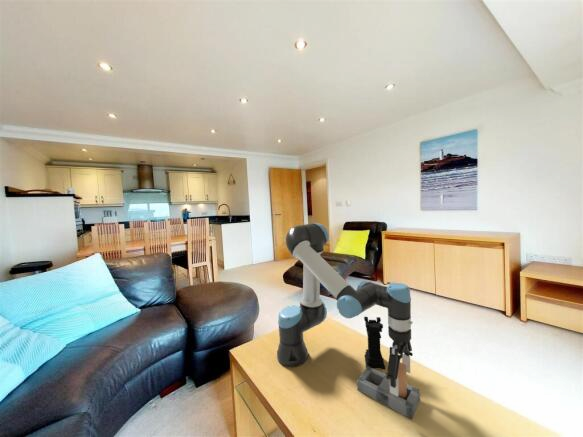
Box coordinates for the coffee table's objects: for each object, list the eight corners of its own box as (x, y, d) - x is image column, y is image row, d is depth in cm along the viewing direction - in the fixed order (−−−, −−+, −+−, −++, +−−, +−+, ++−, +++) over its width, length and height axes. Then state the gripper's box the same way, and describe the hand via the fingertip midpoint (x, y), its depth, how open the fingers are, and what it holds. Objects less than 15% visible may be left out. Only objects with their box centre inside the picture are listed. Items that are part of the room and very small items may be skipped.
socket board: (357, 389, 93) (356, 380, 93) (368, 374, 101) (367, 366, 100) (411, 419, 80) (411, 408, 79) (419, 399, 87) (419, 389, 87)
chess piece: (385, 369, 103) (384, 326, 102) (366, 367, 105) (364, 325, 103) (382, 357, 111) (380, 316, 109) (364, 356, 113) (363, 316, 111)
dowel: (393, 402, 87) (392, 366, 86) (397, 395, 90) (396, 360, 89) (405, 408, 84) (404, 371, 83) (408, 400, 87) (407, 365, 86)
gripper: (398, 348, 73) (400, 411, 74) (420, 315, 91) (420, 367, 93) (375, 339, 78) (377, 398, 80) (399, 310, 96) (401, 359, 98)
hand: (400, 382), depth 86 cm, fingers open, 13 cm apart
